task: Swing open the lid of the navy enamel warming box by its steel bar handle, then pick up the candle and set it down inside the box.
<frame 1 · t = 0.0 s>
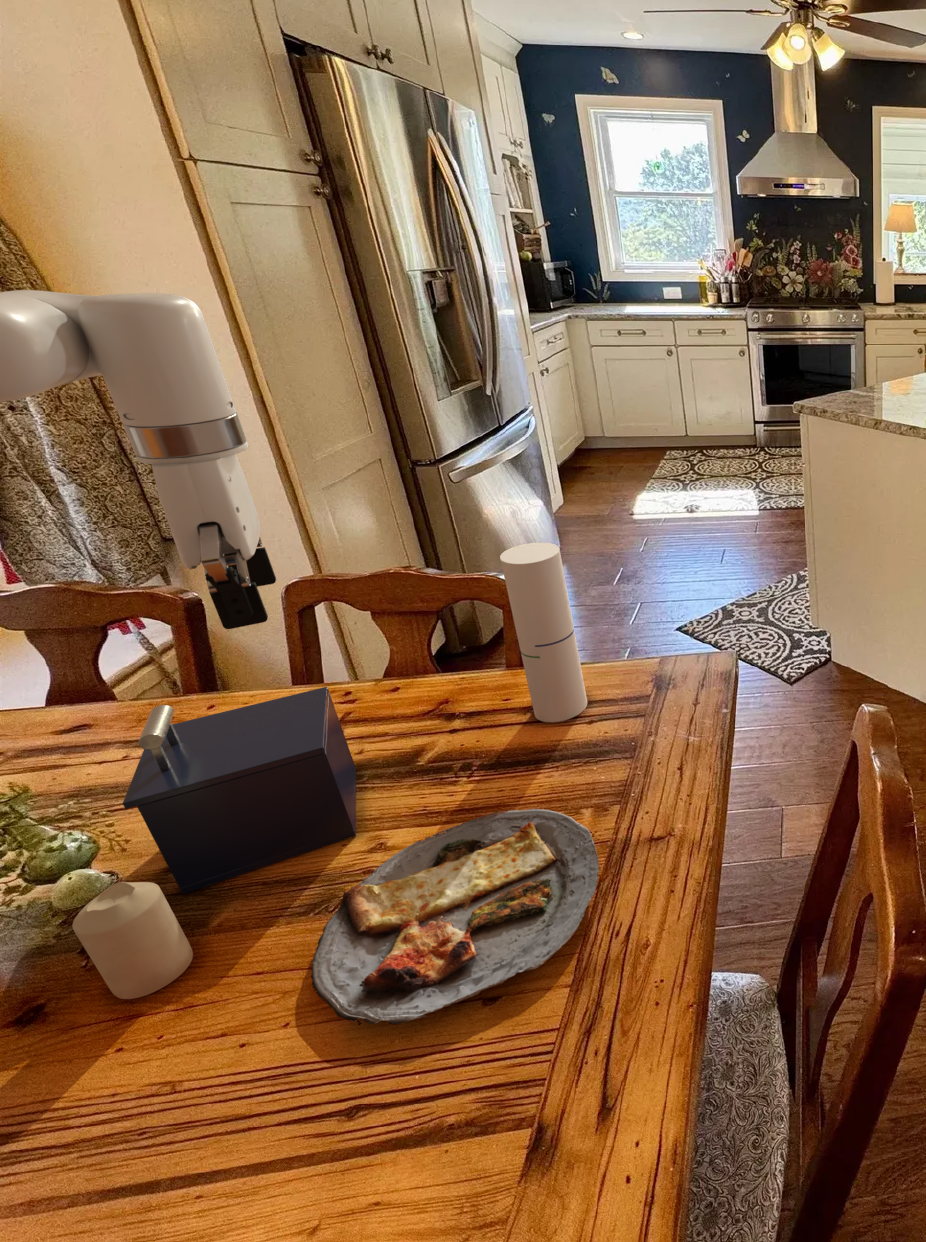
hand: (252, 604, 73), 30 cm above the table, tool pointing down, fingers open, 9 cm apart
cylindrical container: (561, 708, 108), on the table
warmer: (278, 825, 86), on the table
warmer lid: (230, 723, 80), point 15 cm above the table, hinge at 0.0°
candle: (155, 973, 69), on the table
food plate: (470, 916, 75), on the table
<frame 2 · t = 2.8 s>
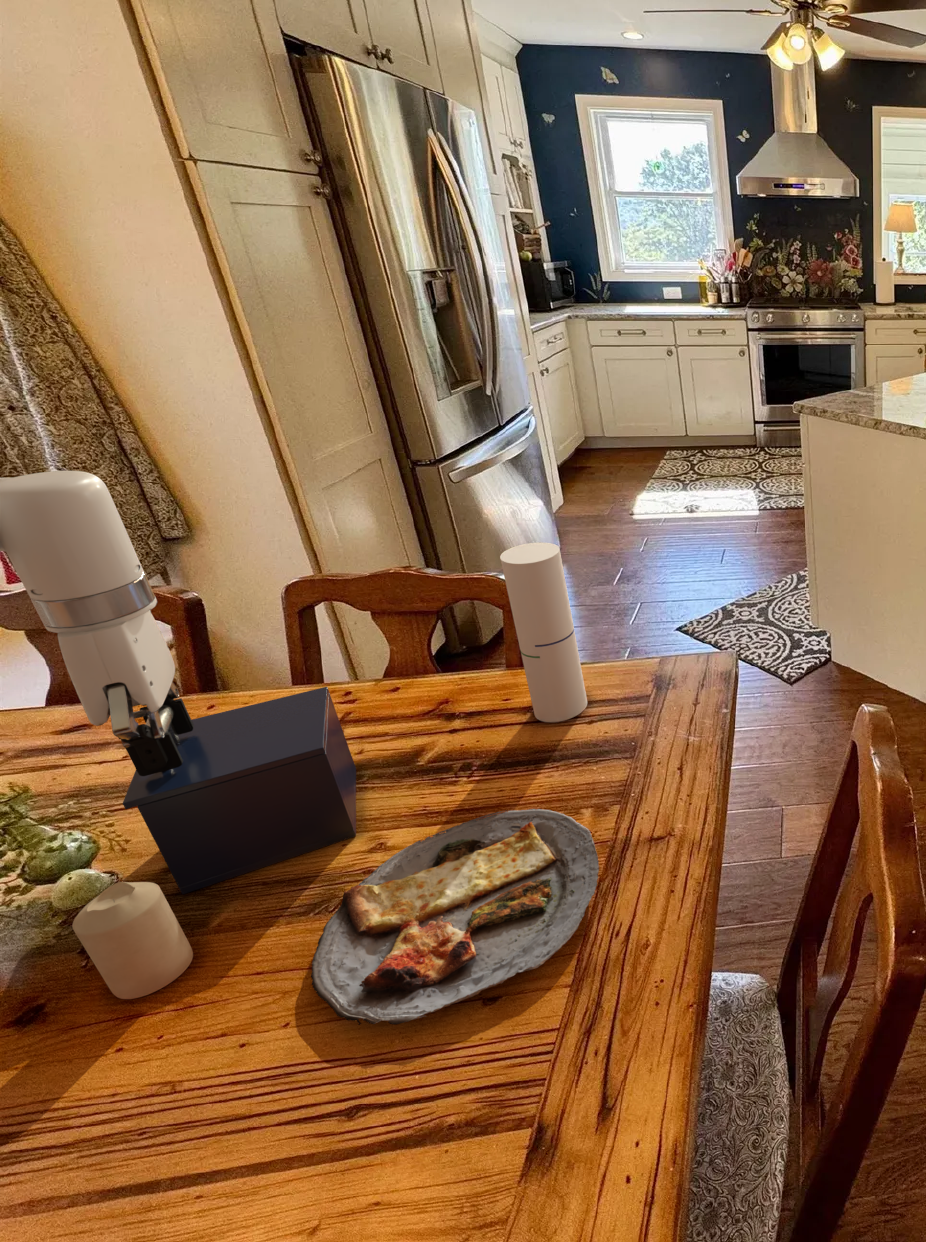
hand: (168, 750, 77), 13 cm above the table, tool pointing down, fingers closed on warmer lid, 6 cm apart
warmer lid: (230, 723, 80), point 15 cm above the table, hinge at 0.0°, touching gripper
everything else where it was.
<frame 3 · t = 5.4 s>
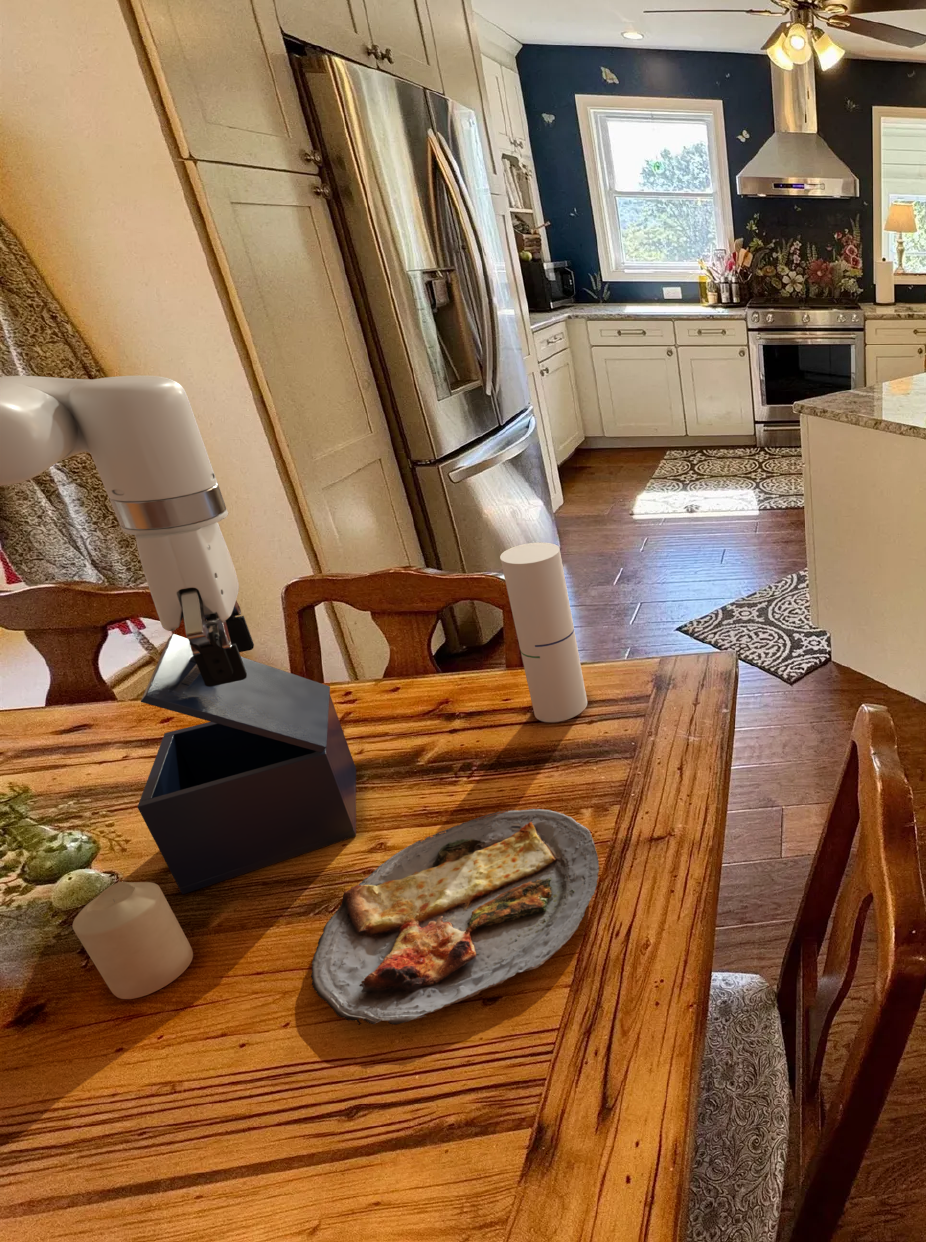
hand: (231, 665, 78), 22 cm above the table, tool pointing down, fingers closed on warmer lid, 6 cm apart
warmer lid: (261, 676, 80), point 19 cm above the table, hinge at 44.5°, touching gripper
everything else where it was.
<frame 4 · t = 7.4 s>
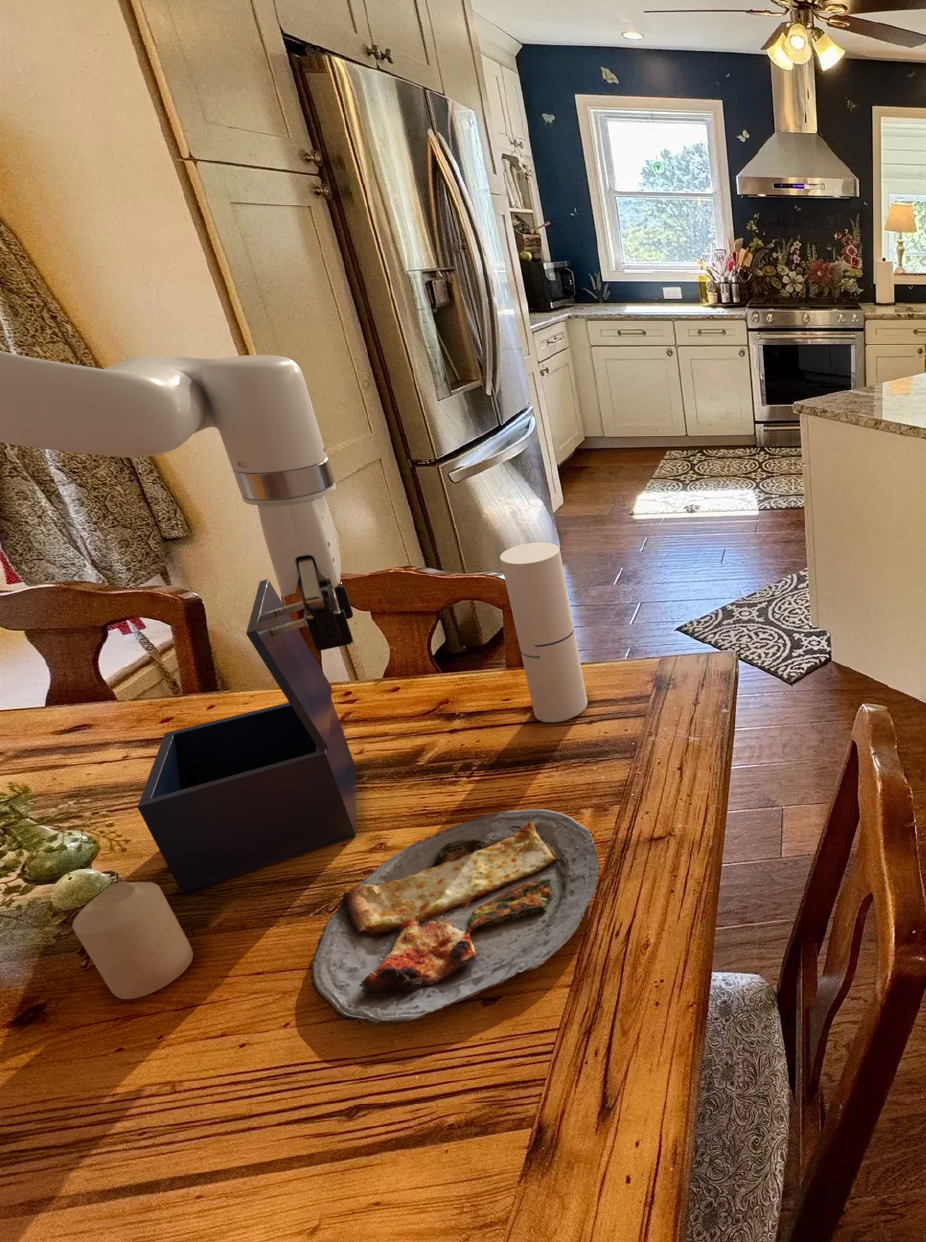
hand: (335, 631, 82), 23 cm above the table, tool pointing down, fingers closed on warmer lid, 6 cm apart
warmer lid: (318, 655, 82), point 20 cm above the table, hinge at 82.0°, touching gripper
everything else where it was.
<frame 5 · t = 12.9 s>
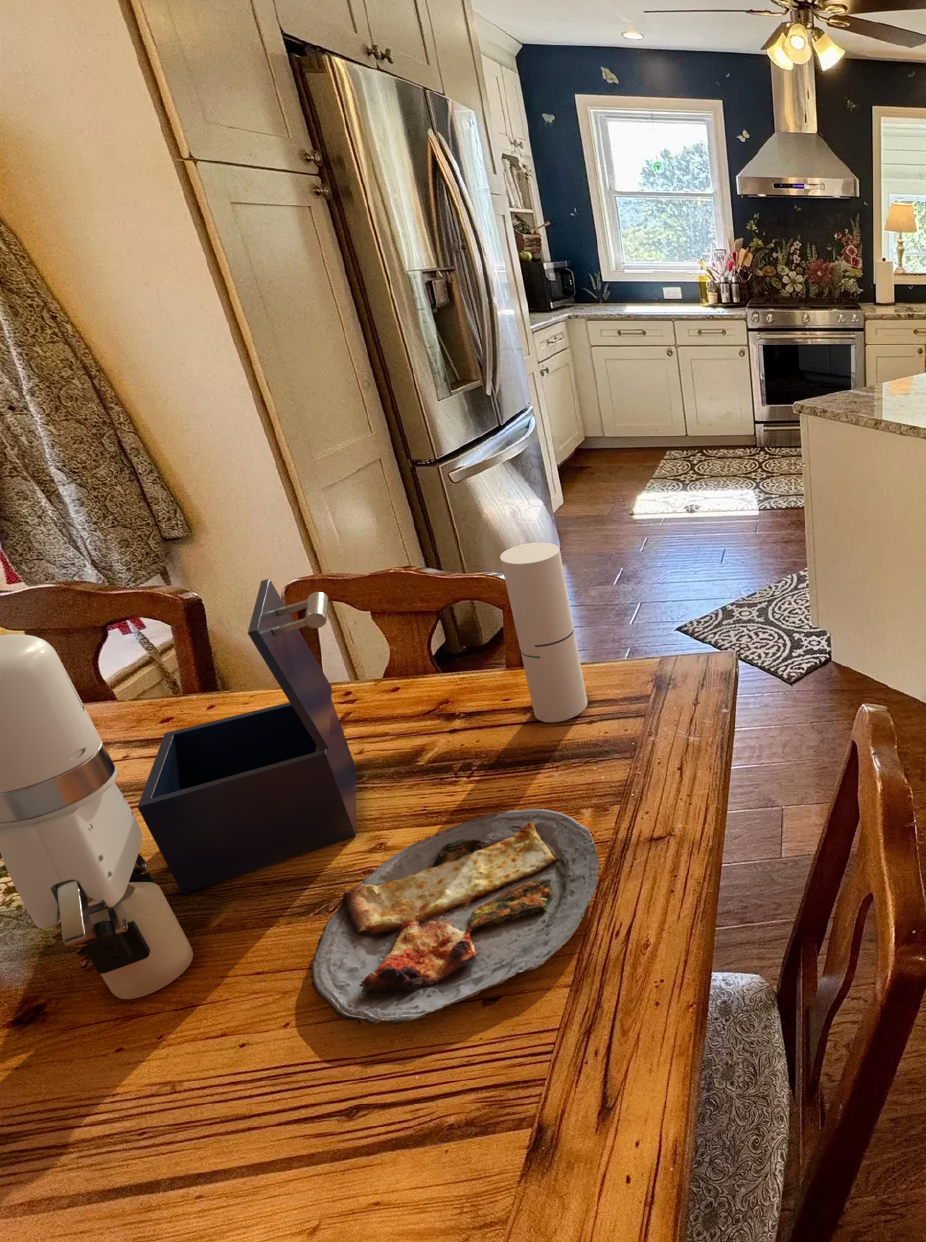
hand: (133, 935, 67), 5 cm above the table, tool pointing down, fingers closed on candle, 5 cm apart
warmer lid: (319, 655, 82), point 20 cm above the table, hinge at 82.5°
candle: (155, 973, 69), on the table, touching gripper
everything else where it was.
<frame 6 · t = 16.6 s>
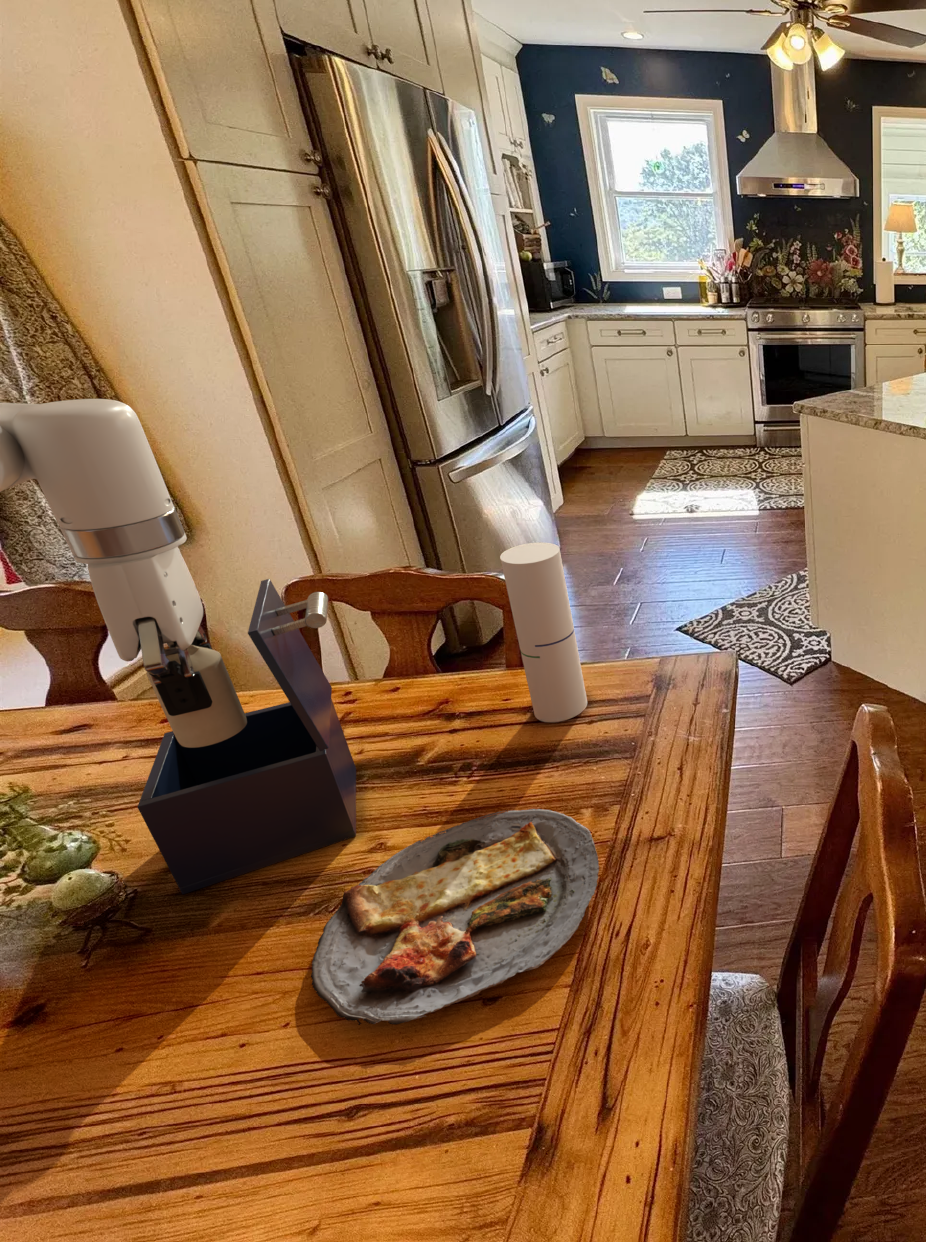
hand: (196, 693, 76), 20 cm above the table, tool pointing down, fingers closed on candle, 5 cm apart
candle: (214, 733, 78), point 15 cm above the table, touching gripper
everything else where it was.
when the fingers open (6 cm above the table, at t = 21.0 s): candle stays where it is, resting on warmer.
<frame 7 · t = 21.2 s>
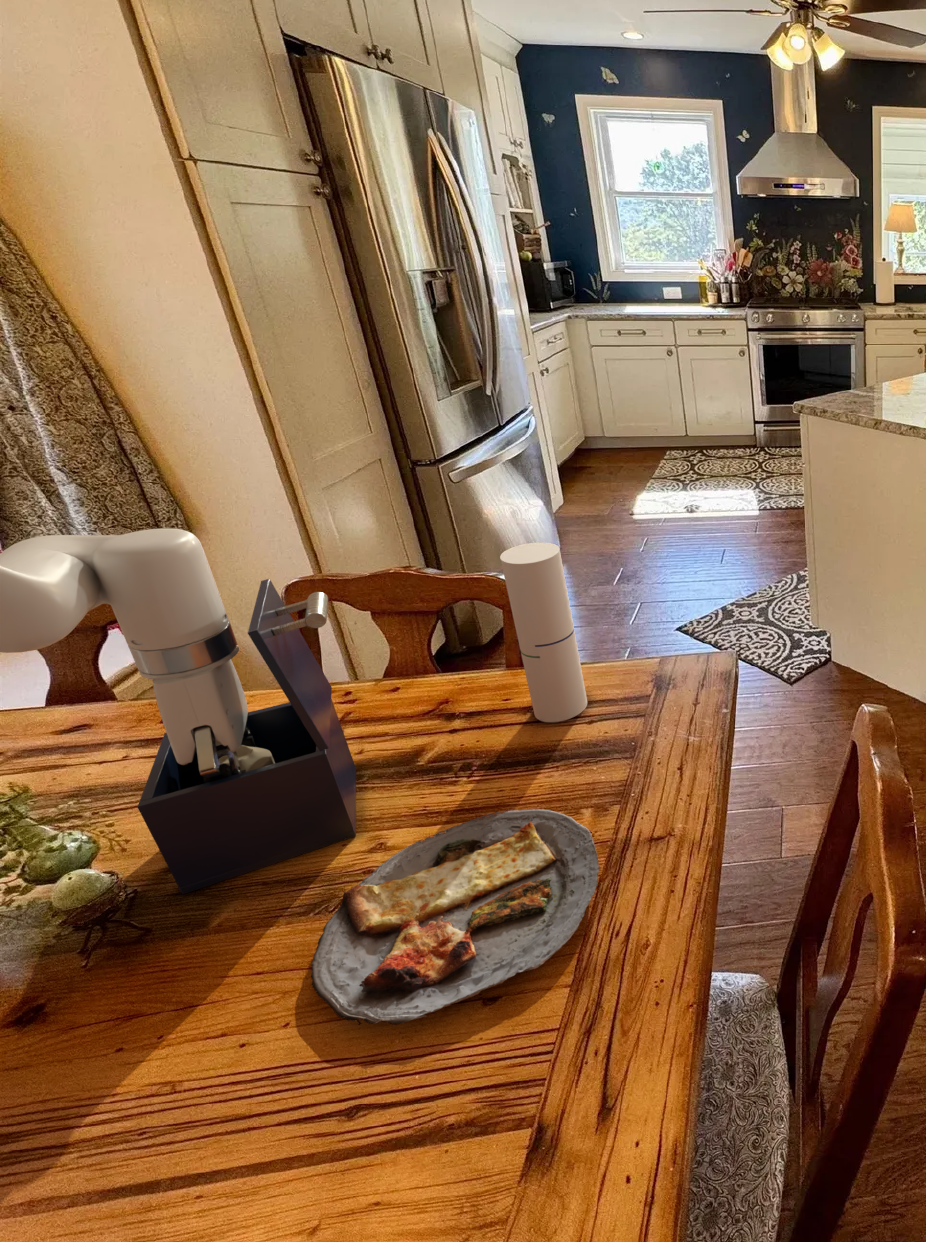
hand: (240, 785, 82), 7 cm above the table, tool pointing down, fingers open, 6 cm apart
candle: (265, 824, 85), point 1 cm above the table, touching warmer
everything else where it was.
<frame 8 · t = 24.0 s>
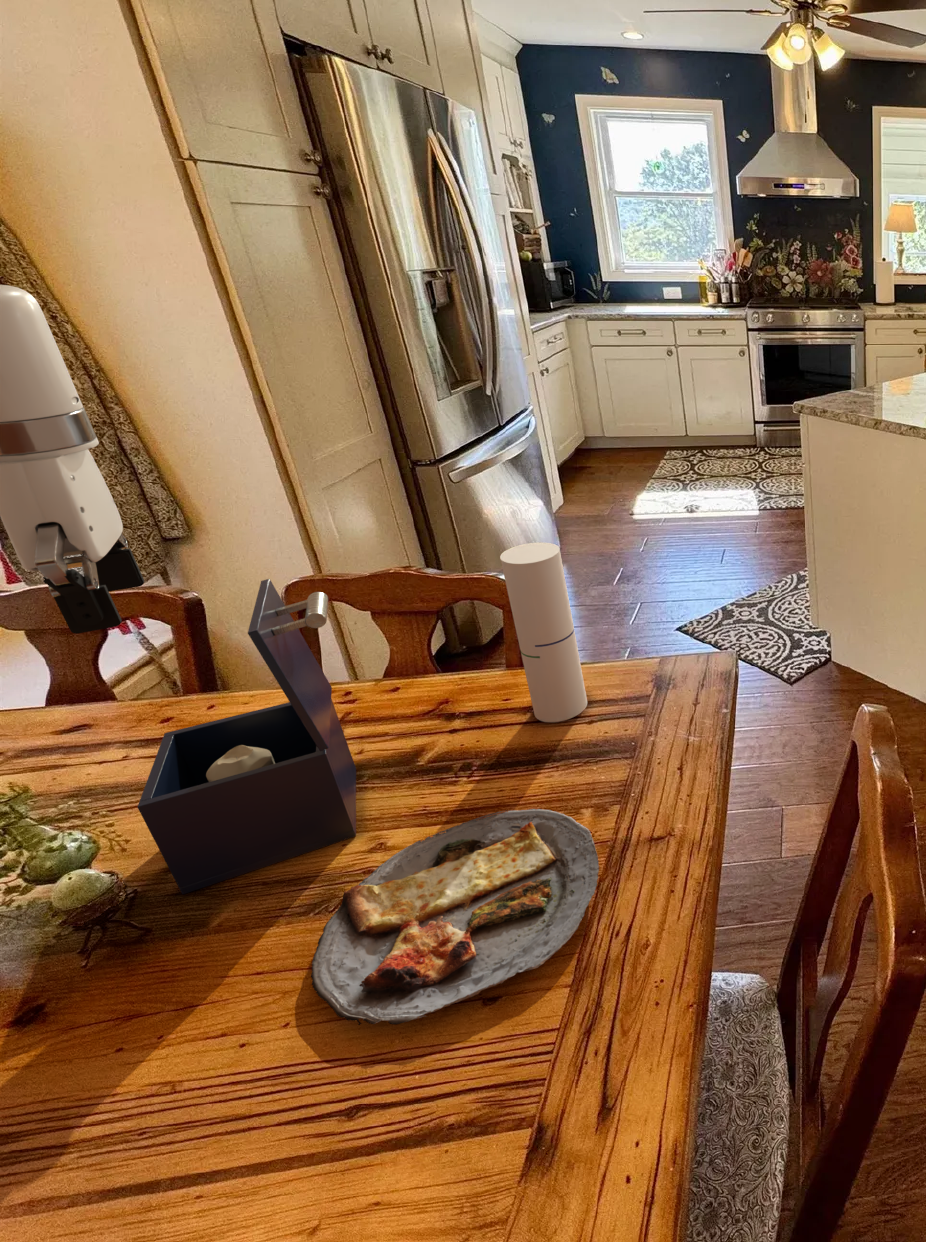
hand: (111, 607, 71), 30 cm above the table, tool pointing down, fingers open, 9 cm apart
nothing on the table moved.
at the end: warmer lid at +82° (first picture: +0°); candle inside the target area in the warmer (1.0 cm from its centre), point 0.7 cm above the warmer's base; candle tilted 0° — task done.
